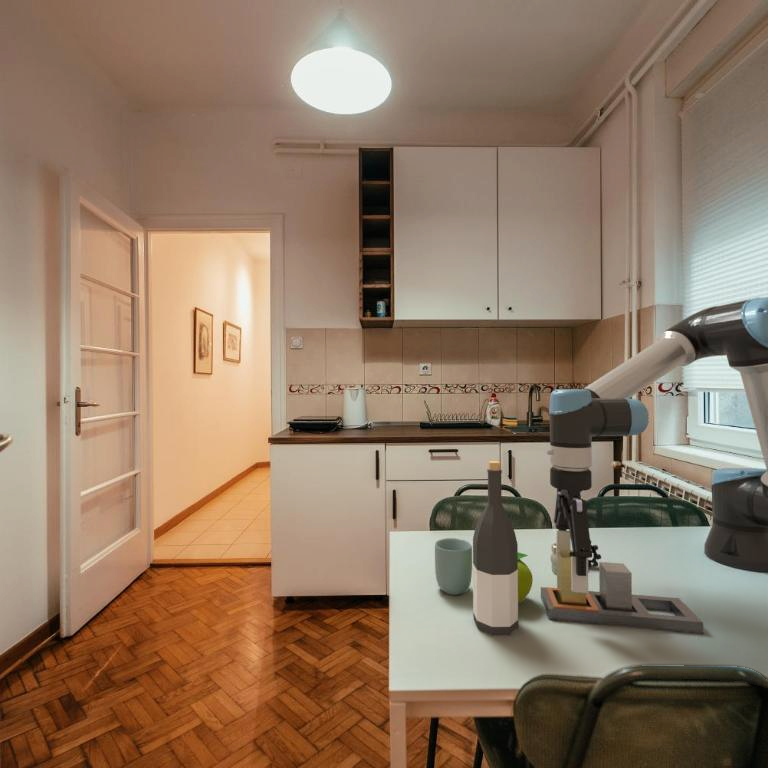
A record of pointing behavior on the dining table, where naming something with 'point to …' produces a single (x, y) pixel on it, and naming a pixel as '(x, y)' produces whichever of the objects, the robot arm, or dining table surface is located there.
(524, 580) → the fruit
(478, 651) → the dining table surface
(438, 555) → the cup
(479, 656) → the dining table surface
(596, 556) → the valve
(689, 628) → the grey compartment tray
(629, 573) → the grey rectangular block
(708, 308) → the robot arm
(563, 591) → the brass block
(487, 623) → the wine bottle
